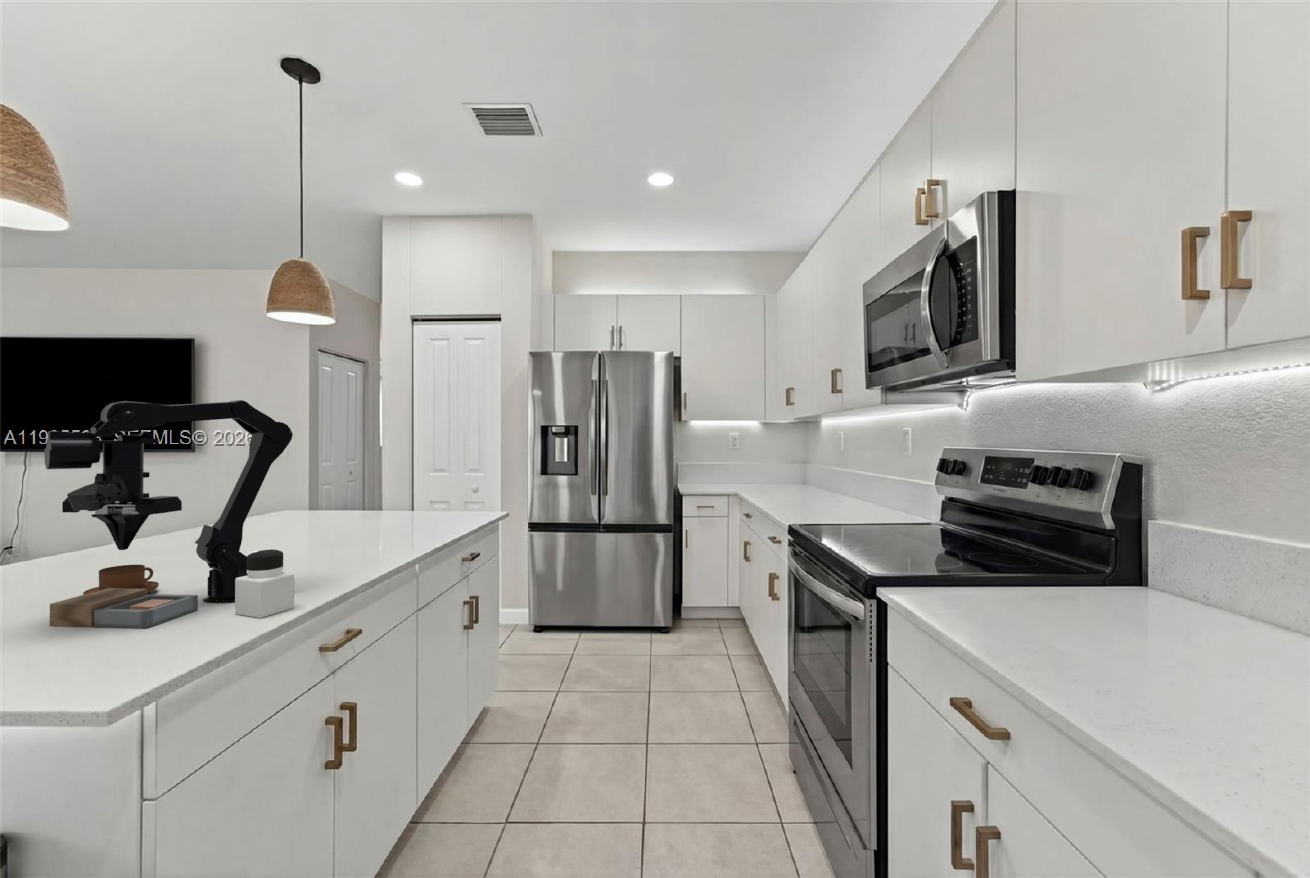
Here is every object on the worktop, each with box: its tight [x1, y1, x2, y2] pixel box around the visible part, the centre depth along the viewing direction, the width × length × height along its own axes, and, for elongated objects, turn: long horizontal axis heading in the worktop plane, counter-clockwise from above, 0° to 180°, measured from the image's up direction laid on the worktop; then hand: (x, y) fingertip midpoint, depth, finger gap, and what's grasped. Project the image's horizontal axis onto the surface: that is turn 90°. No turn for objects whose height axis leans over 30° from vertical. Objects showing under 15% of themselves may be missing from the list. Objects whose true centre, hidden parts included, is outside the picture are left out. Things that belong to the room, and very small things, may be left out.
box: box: [93, 593, 199, 630], centre depth 111 cm, size 10×11×3 cm
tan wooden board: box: [49, 588, 149, 628], centre depth 111 cm, size 8×11×4 cm
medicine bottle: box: [234, 548, 295, 619], centre depth 116 cm, size 7×7×12 cm
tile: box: [130, 599, 175, 610], centre depth 110 cm, size 4×4×2 cm
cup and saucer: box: [82, 564, 160, 595], centre depth 126 cm, size 12×12×6 cm
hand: (122, 549), depth 111 cm, fingers closed
